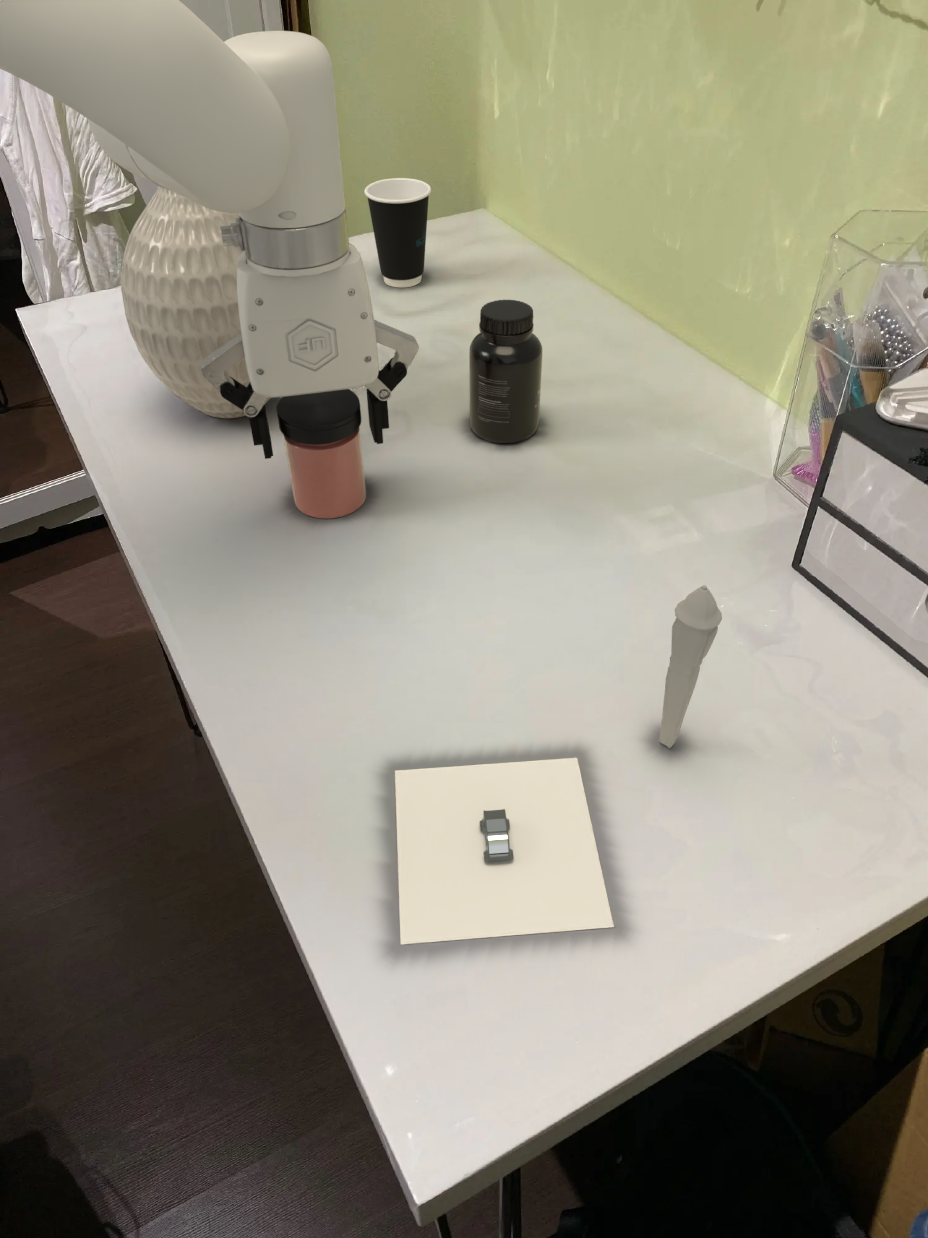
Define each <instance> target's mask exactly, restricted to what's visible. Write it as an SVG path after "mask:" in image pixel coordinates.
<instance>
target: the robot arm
mask: <svg viewBox="0 0 928 1238" xmlns="http://www.w3.org/2000/svg"><path fill="white" fill-rule="evenodd" d="M333 69H334V67H333V62H332V58H331V55H330V53H329V51H328V49H327V47H326V46H325V44H324V43H323V42H322V41H321V40H319V39H318V38H317V37H315V36H313V35H310V34H307V33H304V32H300V31H299V32H298V31H291V30H264V31H263V30H262V31H254V32H248V33H242V34H239V35H235V36H233V37H230V38H228V39H226V40H222V39H221V38H220V37H219V36H218V35H217V34H216V32H214V31H213V30H212V29H211V28H210V27H209V26H208V25H207V24H206V23H205V22H204V21H203V20H201V19H200V17H198V16H197V15H196V14H195V13H194V12H193V11H192V10H191V9H189V7H188V6H186V5H185V4H184V3H183V2H182V1H181V0H0V70H2V71H4V72H7V73H8V74H10V75H13V76H15V77H16V78H18V79H20V80H22V81H24V82H26V83H28V84H30V85H32V86H33V87H35V88H36V89H38V90H41V91H42V92H44V93H46V94H47V95H49V96H50V97H53V98H54V99H56V100H57V101H59V102H61V103H62V104H64V105H66V106H67V107H69V108H70V109H72V110H73V111H75V112H76V113H78V114H80V115H81V116H83V117H84V118H86V120H87V123H88V126H89V129H90V131H91V134H92V135H93V137H94V139H95V141H96V142H97V144H98V145H99V147H100V148H101V149H102V150H103V152H104V153H105V154H106V155H107V156H108V157H109V158H110V159H111V161H113V162H115V163H116V164H117V165H118V166H120V167H121V168H123V169H124V170H126V171H127V172H130V174H132V175H135V176H137V177H139V178H141V179H143V180H145V181H148V182H149V183H152V184H155V185H156V186H158V185H159V186H161V187H163V188H166V189H169V190H171V191H173V192H175V193H177V194H179V195H181V196H184V197H186V198H188V199H190V200H192V201H194V202H196V203H198V204H200V205H202V206H204V207H206V208H209V209H212V210H215V211H219V212H227V213H239V217H240V219H239V218H235V219H236V223H230V224H231V225H230V226H220V229H221V235H222V241H223V245H224V246H231V245H234V247H240V249H241V251H245V252H243V253H242V254H241V255H240V256H239V258H238V264H237V296H238V310H239V318H240V326H241V333H240V334H239V335H237V336H236V337H234V338H233V339H232V340H230V341H229V342H227V343H226V344H225V345H223V346H222V347H220V348H219V349H218V350H216V351H215V352H213V353H212V354H211V355H209V356H208V357H206V358H205V359H204V360H203V361H202V362H201V371H202V374H203V376H204V377H205V378H206V379H207V380H208V381H209V382H210V383H211V384H212V385H213V386H214V387H215V388H216V389H217V390H218V391H219V392H220V393H221V396H222V397H223V398H224V399H226V400H227V401H229V402H231V403H232V404H234V405H235V406H237V407H238V408H240V409H241V410H243V411H244V414H245V415H246V416H245V417H248V421H249V426H250V431H251V437H252V442H253V446H262V449H263V455H264V459H272V457H274V451H273V445H272V438H271V432H270V426H269V421H268V415H267V409H266V404H265V402H266V400H267V399H268V397H271V398H282V397H285V396H295V395H303V394H312V393H320V392H328V391H336V390H344V389H349V390H351V389H357V388H358V389H359V388H363V387H365V392H366V402H367V414H368V424H369V429H370V432H371V436H372V438H373V442H374V444H376V445H381V444H384V434H383V430H387V429H390V421H389V420H390V419H389V407H388V405H389V404H388V400H390V399H391V397H392V392H393V391H394V390H395V388H396V387H397V386H399V384H400V383H401V382H402V381H403V380H404V378H406V376H407V375H408V369H409V368H410V367H411V365H412V363H413V361H414V359H415V357H416V355H417V354H418V351H419V349H420V347H419V343H418V341H417V338H416V337H415V336H413V335H411V334H409V333H406V332H404V331H402V330H400V329H397V328H395V327H393V326H389V325H388V324H386V323H383V322H381V321H378V320H376V319H375V318H374V312H373V304H372V297H371V293H370V286H369V281H368V279H367V278H368V277H367V273H366V269H365V265H364V261H363V258H362V256H361V253H360V252H359V250H358V248H357V247H356V246H355V245H354V244H352V243H350V242H349V241H350V240H349V229H348V219H347V208H346V200H345V190H344V189H345V187H344V178H343V168H342V167H343V165H342V153H341V143H340V136H339V135H340V131H339V122H338V109H337V99H336V87H335V77H334V70H333ZM378 344H380V345H382V346H385V347H387V348H390V349H392V350H394V351H395V352H394V355H393V357H391V358H390V359H389V360H388V362H387V363H386V364H385V365H384V366H383V367H382V368H381V369H380V366H379V365H380V363H379V362H380V361H379V352H378V351H379V350H378ZM244 357H245V361H246V366H247V371H248V375H249V381H248V382H247V384H246V386H244V385H242V384H241V383H239V382H238V381H236V380H235V379H233V378H232V377H230V376H229V375H228V374H227V372H226V370H227V369H228V368H229V367H231V366H232V365H234V364H235V363H236V362H238V361H239V360H241V359H242V358H244Z"/></svg>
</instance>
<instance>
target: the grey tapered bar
mask: <svg viewBox="0 0 928 1238" xmlns="http://www.w3.org/2000/svg"><path fill="white" fill-rule="evenodd" d="M674 616H675V617H676V618H675V619H674V621H673V623H672V626H671V650H670V651H671V653H670V657H669V664H668V666H667V671H666V676H665V683H664V684H665V685H664V694H663V695H664V696H663V704H662V714H661V720H660V721H661V722H660V723H661V724H660V729H659V743H660V744H661V745H664V746H666V747H667V748H668V749H671V748H672V747H673V746H674V745H675V743H676V741H677V739H678V736H679V734H680V731H681V728H682V725H683V722H684V719H685V716H686V713H687V711H688V708H689V704H690V702H691V699H692V696H693V693H694V690H695V688H696V685H697V682H698V678H699V675H700V671H701V665H702V664H703V660H704V659H705V658H706V656H707V654H708V653H709V651H710V649H711V647H712V645H713V643H714V640H715V638H716V636H717V634H718V630H719V625H720V624H721V622H722V620H723V613H722V611H721V610H720V609H719V607H718V605H717V601H716V599H715V597H714V595H713V594H712V592H711V591H710V589H709V588H708V587H707V585H702V586H699V587H698V588H696V589H695V590H693V591H692V592H690V593H688V595H687V596H686V597H685V598H684V599H683V600H681V601H680V602H678V603H677V605H676V606H675V608H674Z"/></svg>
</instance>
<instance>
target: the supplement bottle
mask: <svg viewBox="0 0 928 1238" xmlns="http://www.w3.org/2000/svg"><path fill="white" fill-rule="evenodd" d="M478 329H479V333H478V334H476V335H475V337H474V338H473V339H472V341H471V342H470V345H469V352H468V353H469V355H468V356H469V357H468V358H469V367H468V368H469V425H470V428H471V429H472V432H474V433H475V434H476V436H477V437H479V438H481V439H483V440H486V441H488V442H492V443H497V444H512V443H518V442H521V441H524V440H526V439H528V438H530V437H532V435H533V434H535V432H537V430H538V427H539V422H540V411H541V410H540V409H541V390H542V389H541V387H542V371H543V345H542V342H541V341H540V339H539V338H538V337H537V335H535V334H534V333H533V332H534V309H533V306H531V305H530V304H528V303H526V302H524V301H520V300H516V299H498V300H493V301H489V302H487V303H486V304H483V306H482V307H481V309H480V313H479V324H478Z"/></svg>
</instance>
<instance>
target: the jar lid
mask: <svg viewBox="0 0 928 1238" xmlns="http://www.w3.org/2000/svg"><path fill="white" fill-rule="evenodd" d="M275 410H276V416H277V423H278V427H279V428H278V429H279V430H280V433H281V434H282V435H284V436H285V437H287V438H288V439H290V440H292V441H295V442H298V443H303V444H311V445H319V444H328V443H333V442H337V441H340V440H343V439H345V438H347V437H349V436H350V435H352V434H353V433H355V432H356V431H357V429H358V428H359V427H361V424H362V412H361V410H362V409H361V401H360V398H359V396H358V395H357V394H356V393H355V392H354V391H353V390H351V389H344V390H336V391H328V392H320V393H312V394H303V395H295V396H285V397H280V399H279V400H278V402H277V404H276V409H275ZM284 436H283V437H284Z"/></svg>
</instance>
